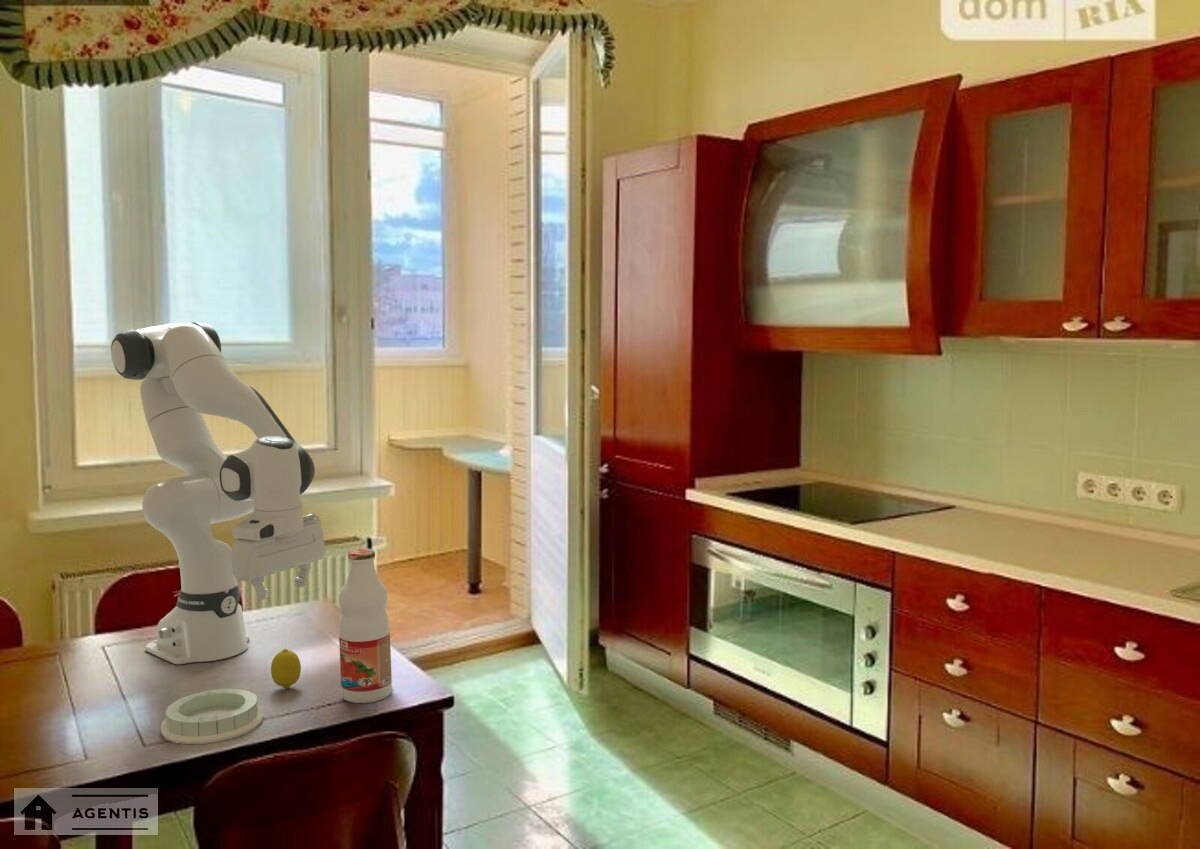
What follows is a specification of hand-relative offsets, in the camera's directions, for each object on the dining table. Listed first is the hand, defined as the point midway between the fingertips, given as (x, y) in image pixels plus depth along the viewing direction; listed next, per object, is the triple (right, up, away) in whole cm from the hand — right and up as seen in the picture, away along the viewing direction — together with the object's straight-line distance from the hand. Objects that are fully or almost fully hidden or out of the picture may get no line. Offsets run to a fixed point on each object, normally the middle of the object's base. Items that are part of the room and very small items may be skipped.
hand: (282, 592), depth 186 cm
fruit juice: (+17, -20, -1) cm, 26 cm away
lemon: (0, -19, +2) cm, 19 cm away
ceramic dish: (-8, -21, -14) cm, 26 cm away
